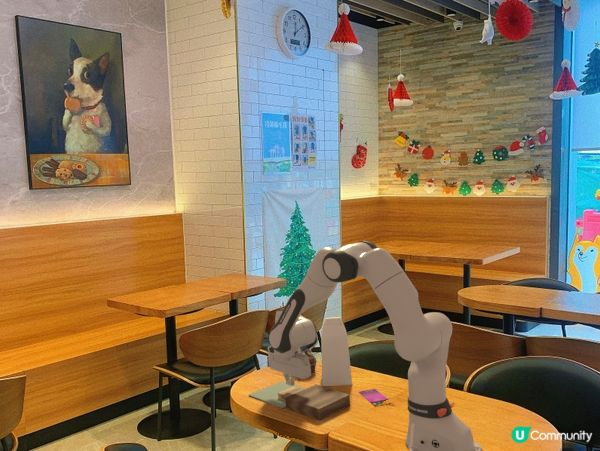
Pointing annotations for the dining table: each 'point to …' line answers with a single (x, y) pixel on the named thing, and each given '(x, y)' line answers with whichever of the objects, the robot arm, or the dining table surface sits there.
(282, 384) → the mat
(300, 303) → the robot arm
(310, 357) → the cupcake
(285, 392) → the coaster
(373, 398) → the smartphone
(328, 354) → the milk
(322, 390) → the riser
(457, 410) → the dining table surface
